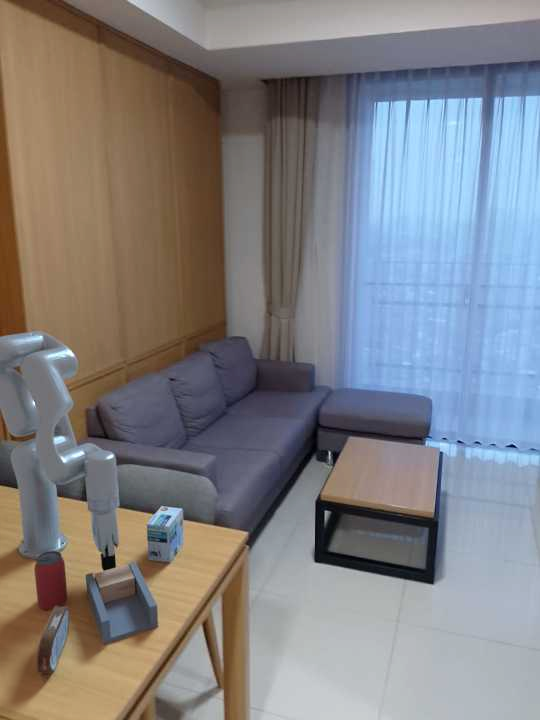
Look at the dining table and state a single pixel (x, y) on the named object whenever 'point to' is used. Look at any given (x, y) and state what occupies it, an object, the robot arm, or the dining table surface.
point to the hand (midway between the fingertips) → (109, 567)
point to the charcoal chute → (123, 609)
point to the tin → (53, 640)
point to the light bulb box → (165, 534)
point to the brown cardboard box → (115, 583)
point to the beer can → (50, 580)
